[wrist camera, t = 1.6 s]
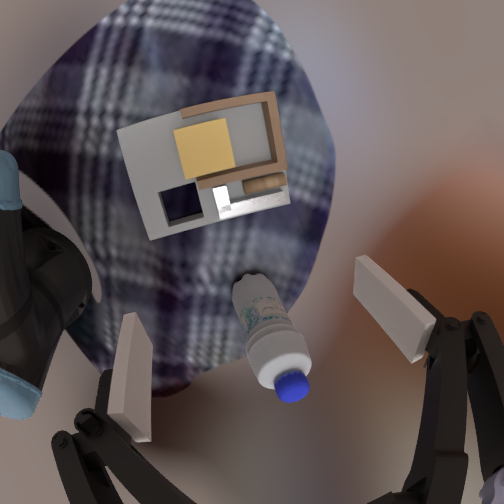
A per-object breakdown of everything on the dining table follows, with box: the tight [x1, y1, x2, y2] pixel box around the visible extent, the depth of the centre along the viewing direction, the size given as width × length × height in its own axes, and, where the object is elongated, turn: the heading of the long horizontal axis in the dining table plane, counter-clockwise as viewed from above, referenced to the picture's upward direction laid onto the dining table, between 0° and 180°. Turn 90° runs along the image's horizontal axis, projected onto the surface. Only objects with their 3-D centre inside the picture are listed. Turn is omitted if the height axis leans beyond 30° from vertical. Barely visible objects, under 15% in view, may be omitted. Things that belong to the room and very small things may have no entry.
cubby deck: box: [116, 91, 290, 241], centre depth 30 cm, size 18×14×4 cm
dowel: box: [242, 172, 287, 195], centre depth 32 cm, size 5×2×2 cm, turn 100°
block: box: [173, 118, 236, 180], centre depth 27 cm, size 5×5×5 cm
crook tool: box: [212, 184, 286, 220], centre depth 32 cm, size 8×4×2 cm, turn 100°
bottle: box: [232, 273, 311, 402], centre depth 33 cm, size 7×7×20 cm
